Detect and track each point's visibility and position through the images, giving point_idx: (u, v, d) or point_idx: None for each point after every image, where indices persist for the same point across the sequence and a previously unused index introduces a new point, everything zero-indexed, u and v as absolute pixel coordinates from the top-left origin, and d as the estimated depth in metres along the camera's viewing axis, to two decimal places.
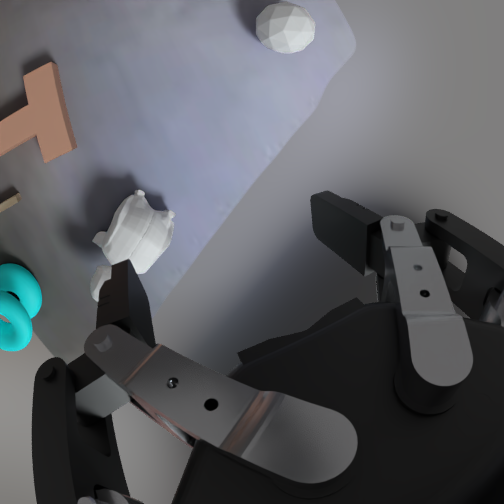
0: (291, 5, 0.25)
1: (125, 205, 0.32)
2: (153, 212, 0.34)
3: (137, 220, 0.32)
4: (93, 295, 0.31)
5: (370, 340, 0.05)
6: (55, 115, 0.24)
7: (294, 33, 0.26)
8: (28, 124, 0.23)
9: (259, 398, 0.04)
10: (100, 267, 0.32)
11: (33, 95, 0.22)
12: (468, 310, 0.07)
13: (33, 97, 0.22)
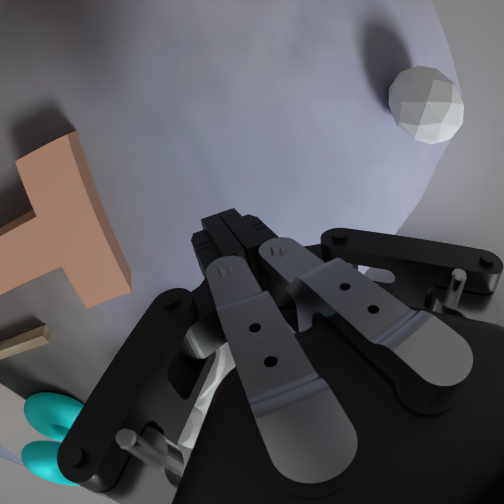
0: (448, 81, 0.17)
1: (221, 353, 0.24)
2: None
3: None
4: (181, 443, 0.24)
5: None
6: (92, 239, 0.17)
7: (450, 128, 0.19)
8: (44, 251, 0.16)
9: (310, 379, 0.04)
10: None
11: (42, 200, 0.14)
12: None
13: (43, 204, 0.14)
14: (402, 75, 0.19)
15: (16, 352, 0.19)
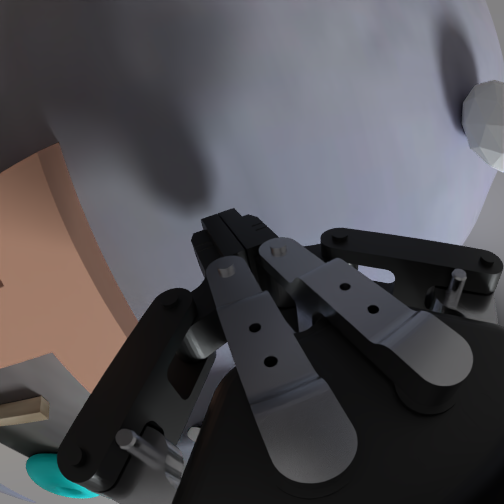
0: None
1: None
2: None
3: None
4: None
5: None
6: (93, 319, 0.11)
7: None
8: (23, 332, 0.09)
9: (310, 379, 0.04)
10: None
11: (9, 263, 0.08)
12: None
13: (11, 268, 0.08)
14: (482, 90, 0.13)
15: (10, 423, 0.13)
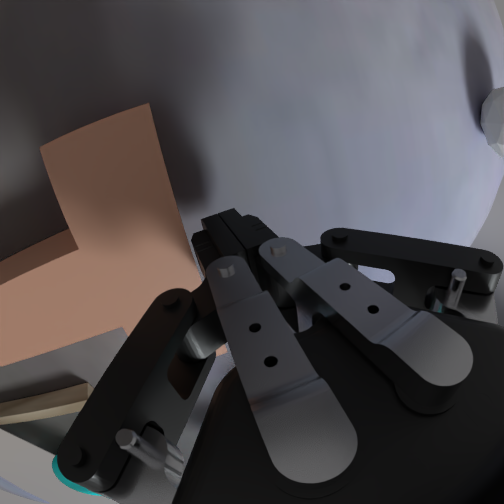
0: None
1: None
2: None
3: None
4: None
5: None
6: (180, 285, 0.11)
7: None
8: (92, 304, 0.10)
9: (310, 379, 0.04)
10: None
11: (91, 221, 0.09)
12: None
13: (92, 228, 0.09)
14: (499, 95, 0.14)
15: (46, 416, 0.14)
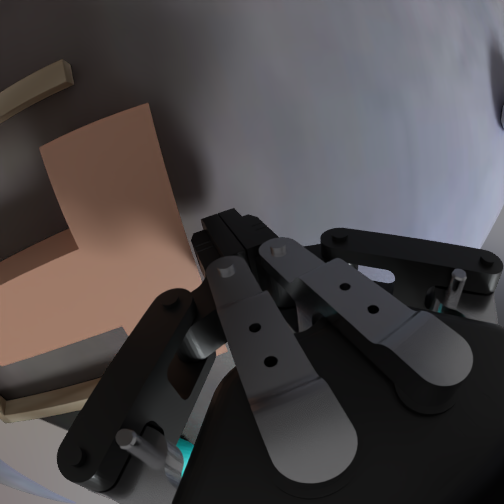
0: None
1: None
2: None
3: None
4: None
5: None
6: (180, 284, 0.11)
7: None
8: (92, 304, 0.10)
9: (310, 379, 0.04)
10: None
11: (91, 221, 0.09)
12: None
13: (92, 228, 0.09)
14: None
15: None
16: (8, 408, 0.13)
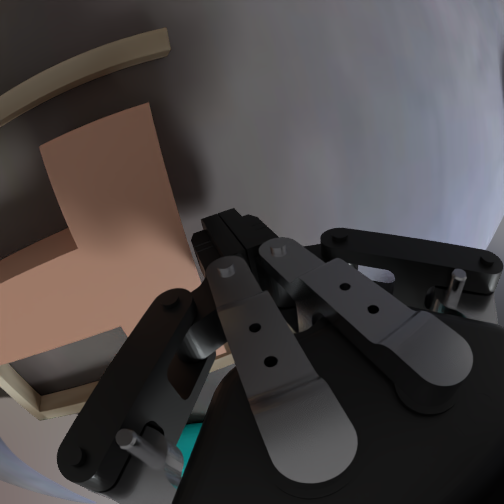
0: None
1: None
2: None
3: None
4: None
5: None
6: (179, 285, 0.11)
7: None
8: (91, 304, 0.10)
9: (310, 379, 0.04)
10: None
11: (91, 221, 0.09)
12: None
13: (92, 227, 0.09)
14: None
15: None
16: (44, 403, 0.14)
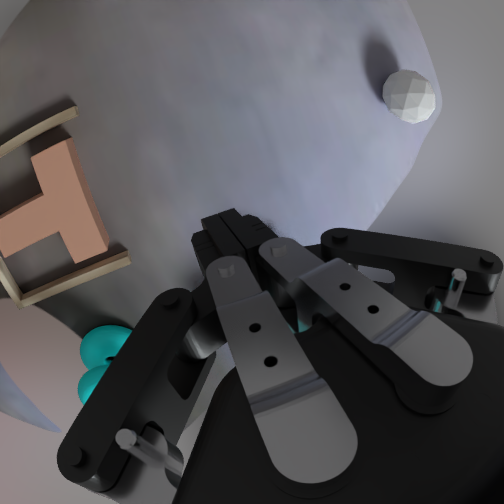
0: (423, 79, 0.27)
1: None
2: None
3: None
4: None
5: None
6: (81, 210, 0.24)
7: (425, 110, 0.28)
8: (47, 219, 0.23)
9: (310, 379, 0.04)
10: None
11: (48, 184, 0.21)
12: None
13: (48, 186, 0.21)
14: (391, 76, 0.29)
15: (95, 276, 0.29)
16: (24, 296, 0.26)
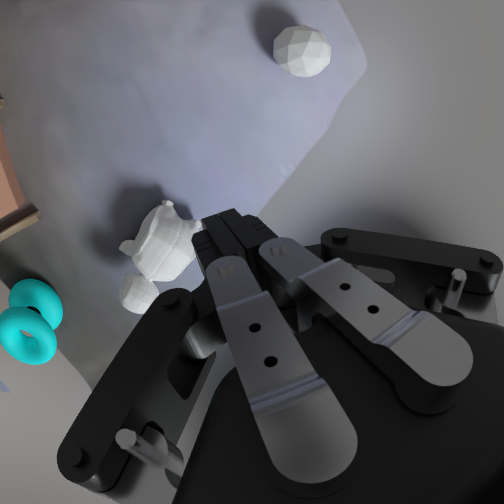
0: (309, 29, 0.27)
1: (155, 216, 0.34)
2: (182, 222, 0.36)
3: (168, 230, 0.34)
4: (123, 303, 0.34)
5: None
6: (0, 176, 0.24)
7: (312, 59, 0.29)
8: None
9: (310, 379, 0.04)
10: (130, 275, 0.35)
11: None
12: None
13: None
14: (279, 34, 0.29)
15: (14, 232, 0.29)
16: None
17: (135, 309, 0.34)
